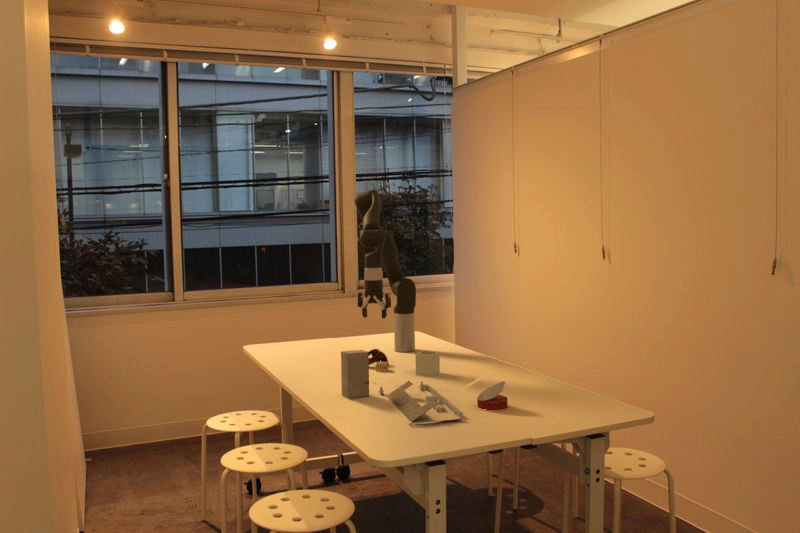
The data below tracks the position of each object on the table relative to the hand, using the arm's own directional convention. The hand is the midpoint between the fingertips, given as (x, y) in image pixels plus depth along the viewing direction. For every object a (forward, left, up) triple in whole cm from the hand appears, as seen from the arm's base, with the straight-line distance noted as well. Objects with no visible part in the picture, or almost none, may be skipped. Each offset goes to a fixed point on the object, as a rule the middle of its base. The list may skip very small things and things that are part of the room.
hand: (374, 317), depth 322 cm
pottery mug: (0, 0, -20) cm, 20 cm away
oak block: (+10, +8, -20) cm, 24 cm away
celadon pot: (+9, +28, -20) cm, 35 cm away
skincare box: (+47, +17, -20) cm, 54 cm away
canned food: (+43, +66, -20) cm, 82 cm away
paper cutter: (+52, +45, -21) cm, 72 cm away
